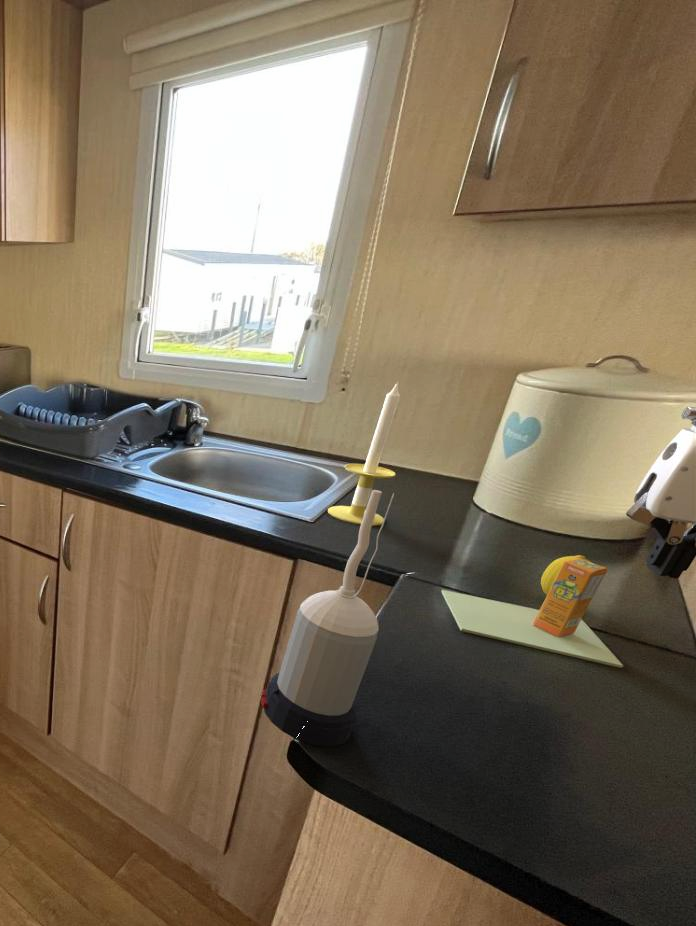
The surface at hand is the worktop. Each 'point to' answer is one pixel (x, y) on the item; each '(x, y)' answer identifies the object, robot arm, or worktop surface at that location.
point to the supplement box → (569, 597)
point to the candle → (370, 467)
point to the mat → (524, 628)
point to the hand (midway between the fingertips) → (661, 572)
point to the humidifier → (326, 657)
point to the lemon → (555, 572)
